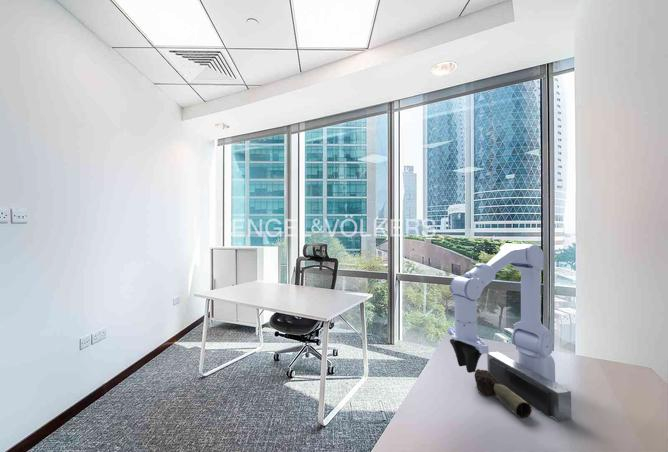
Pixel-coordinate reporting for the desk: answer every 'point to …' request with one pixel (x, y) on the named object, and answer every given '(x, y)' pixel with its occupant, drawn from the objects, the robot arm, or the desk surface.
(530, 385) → the grey metal tray
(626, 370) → the desk surface
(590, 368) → the desk surface
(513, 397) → the corroded crusty cylinder
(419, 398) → the desk surface
